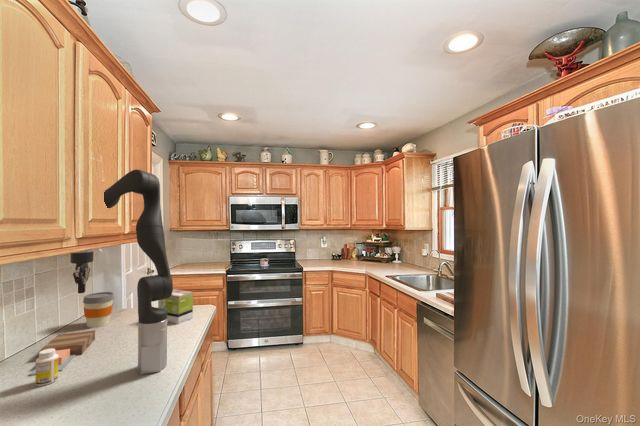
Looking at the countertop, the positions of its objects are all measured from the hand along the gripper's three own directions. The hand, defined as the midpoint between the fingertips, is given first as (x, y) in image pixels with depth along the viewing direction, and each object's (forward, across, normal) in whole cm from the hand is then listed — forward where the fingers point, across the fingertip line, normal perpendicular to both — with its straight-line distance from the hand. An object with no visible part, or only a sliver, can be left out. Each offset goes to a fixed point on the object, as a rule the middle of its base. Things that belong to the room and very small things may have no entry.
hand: (81, 292), depth 124 cm
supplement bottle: (+24, -26, +2) cm, 35 cm away
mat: (+23, -12, +5) cm, 27 cm away
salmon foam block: (+23, -10, +5) cm, 25 cm away
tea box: (+23, +25, -34) cm, 48 cm away
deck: (+23, +2, +4) cm, 24 cm away
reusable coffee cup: (+23, +32, +2) cm, 39 cm away
